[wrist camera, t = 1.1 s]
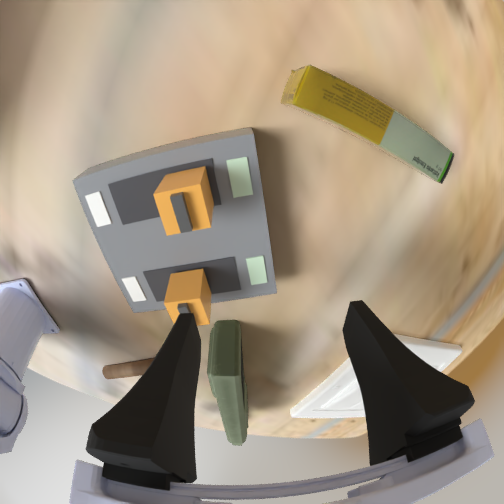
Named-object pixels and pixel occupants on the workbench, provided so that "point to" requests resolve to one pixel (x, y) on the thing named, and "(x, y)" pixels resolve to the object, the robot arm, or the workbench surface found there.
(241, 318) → the workbench surface
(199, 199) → the breaker
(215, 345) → the handheld radio
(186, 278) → the breaker
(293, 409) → the vent cover
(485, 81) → the workbench surface
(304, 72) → the medication box
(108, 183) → the box
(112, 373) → the wooden dowel
